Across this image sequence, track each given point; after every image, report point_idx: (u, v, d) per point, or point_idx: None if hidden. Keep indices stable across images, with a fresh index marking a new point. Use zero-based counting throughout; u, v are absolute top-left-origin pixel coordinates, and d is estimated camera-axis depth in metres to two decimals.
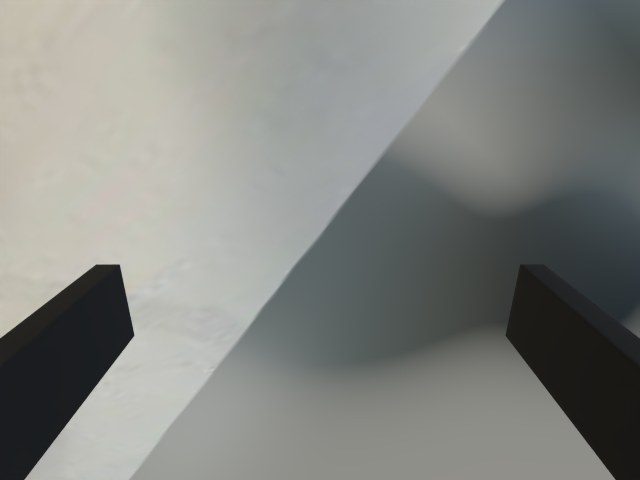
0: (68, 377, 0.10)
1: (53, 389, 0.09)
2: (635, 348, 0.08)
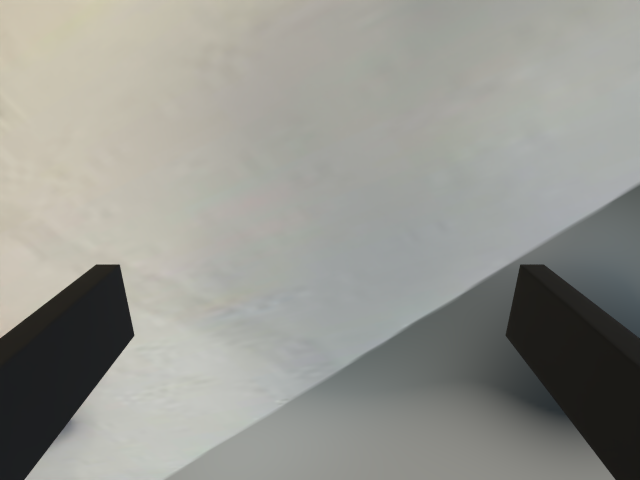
0: (68, 377, 0.10)
1: (53, 389, 0.09)
2: (635, 348, 0.08)
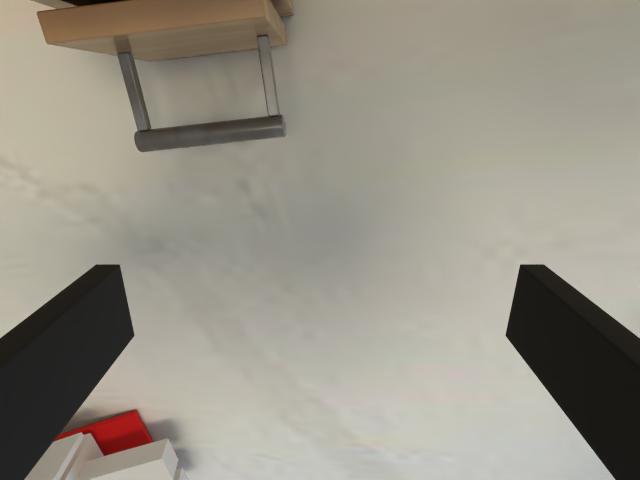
0: (68, 377, 0.10)
1: (53, 389, 0.09)
2: (635, 348, 0.08)
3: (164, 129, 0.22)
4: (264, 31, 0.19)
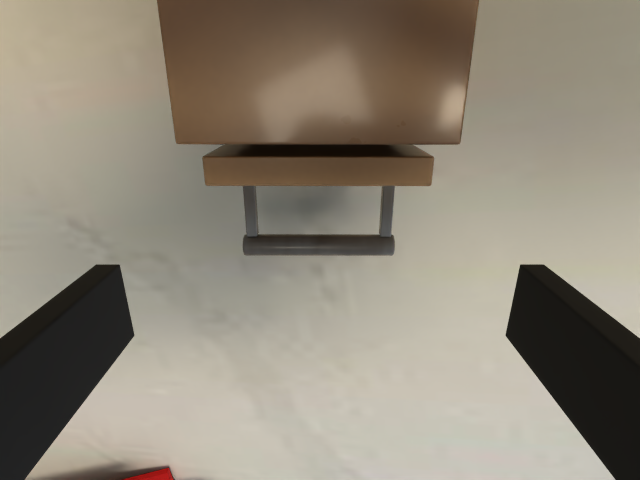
0: (68, 377, 0.10)
1: (53, 390, 0.09)
2: (635, 348, 0.08)
3: (274, 238, 0.21)
4: None
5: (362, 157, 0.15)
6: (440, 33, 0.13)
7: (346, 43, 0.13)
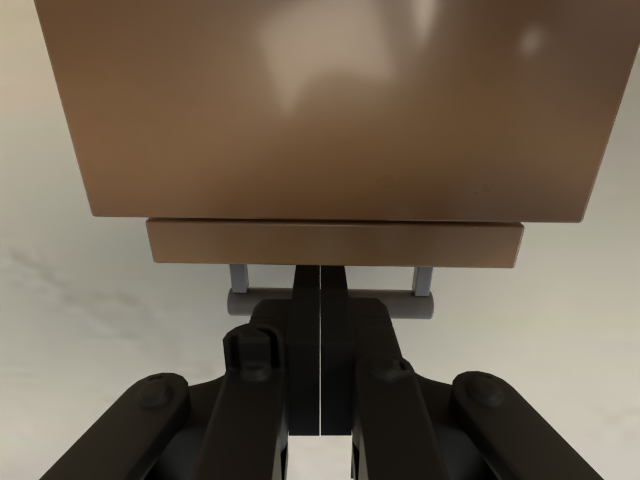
0: None
1: None
2: (334, 294, 0.10)
3: (269, 295, 0.16)
4: None
5: (406, 225, 0.09)
6: (578, 27, 0.06)
7: (392, 46, 0.07)
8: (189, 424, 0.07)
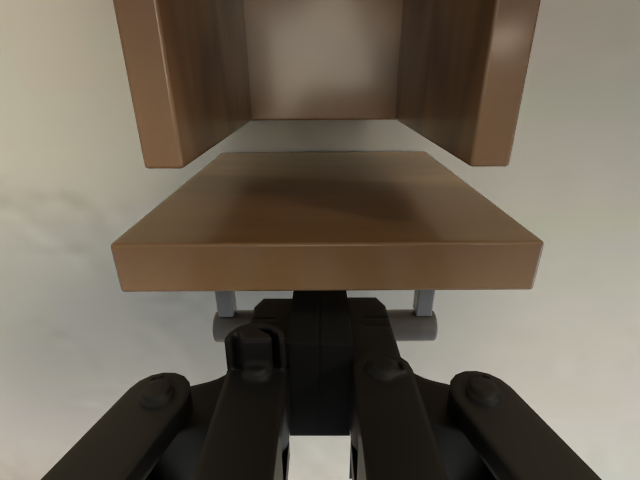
0: None
1: None
2: (332, 294, 0.10)
3: None
4: None
5: (409, 244, 0.08)
6: None
7: None
8: (191, 424, 0.07)
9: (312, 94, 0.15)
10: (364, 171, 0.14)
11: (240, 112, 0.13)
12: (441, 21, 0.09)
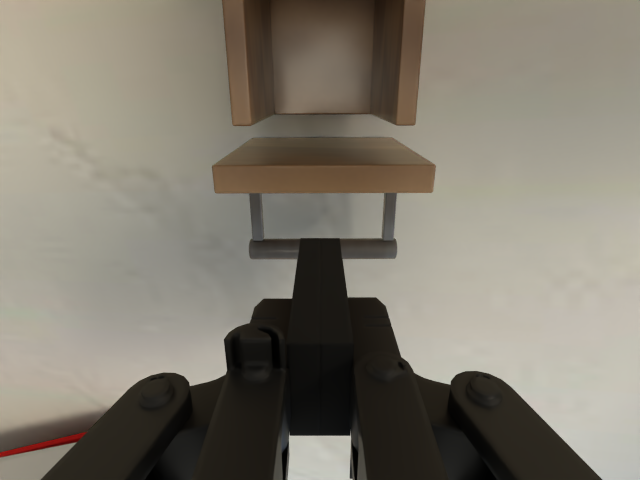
0: None
1: None
2: (333, 294, 0.10)
3: (279, 242, 0.22)
4: None
5: (366, 166, 0.16)
6: None
7: None
8: (190, 424, 0.07)
9: (315, 97, 0.23)
10: (348, 145, 0.21)
11: (270, 106, 0.21)
12: (387, 53, 0.17)
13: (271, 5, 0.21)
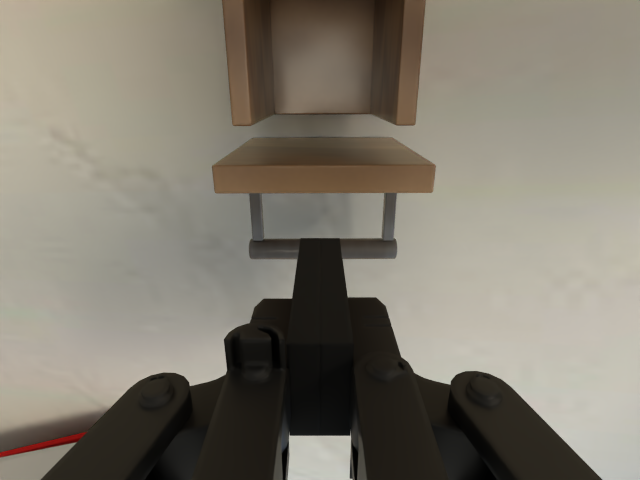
0: None
1: None
2: (333, 294, 0.10)
3: (279, 242, 0.22)
4: None
5: (366, 166, 0.16)
6: None
7: None
8: (190, 424, 0.07)
9: (315, 97, 0.23)
10: (348, 145, 0.21)
11: (270, 106, 0.21)
12: (387, 53, 0.17)
13: (271, 5, 0.21)
